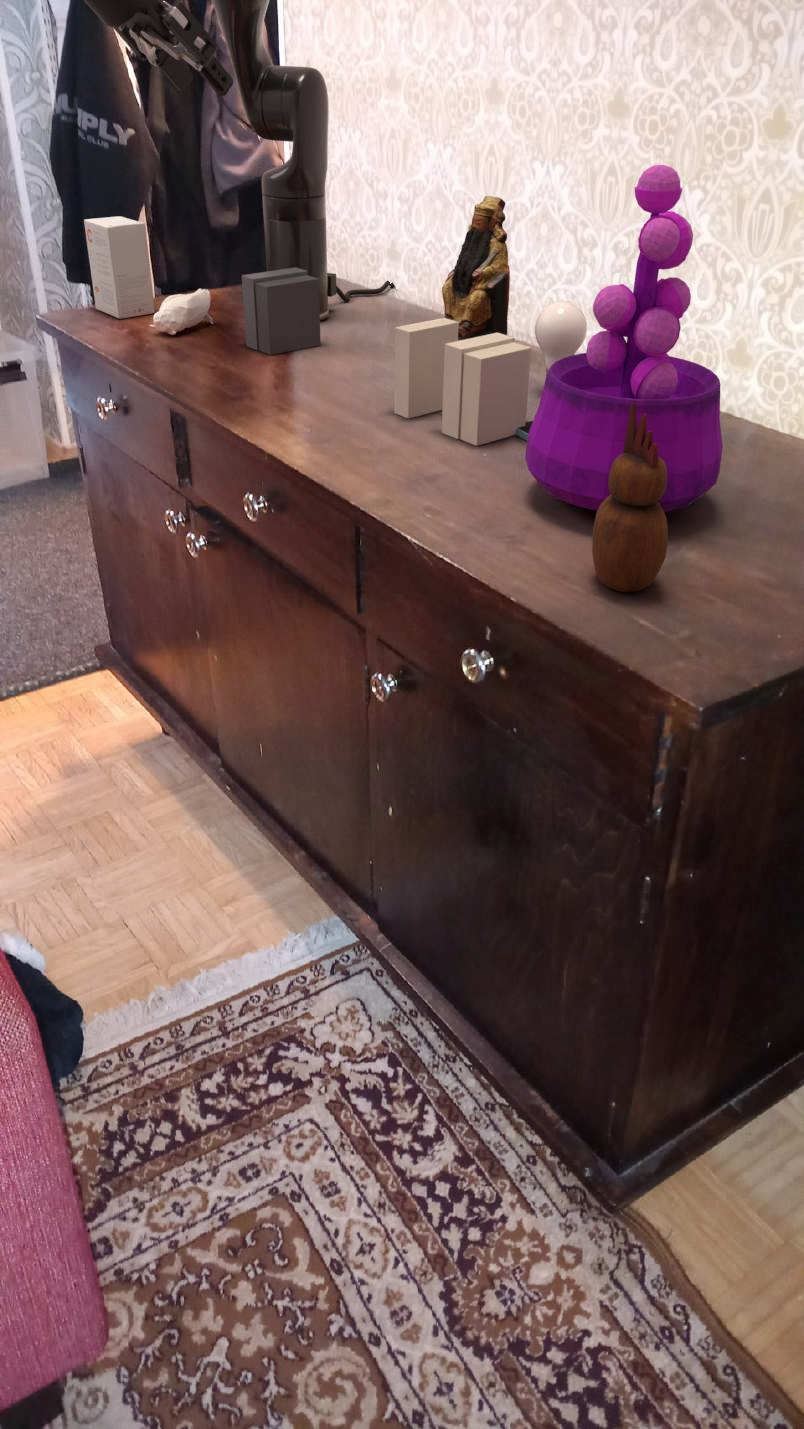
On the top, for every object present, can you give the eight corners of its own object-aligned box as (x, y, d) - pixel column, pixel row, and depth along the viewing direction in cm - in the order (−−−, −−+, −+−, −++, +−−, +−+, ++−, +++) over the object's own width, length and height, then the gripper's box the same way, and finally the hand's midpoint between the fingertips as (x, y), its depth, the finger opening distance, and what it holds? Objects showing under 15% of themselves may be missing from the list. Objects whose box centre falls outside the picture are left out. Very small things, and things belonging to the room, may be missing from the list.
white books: (441, 432, 122) (444, 343, 117) (492, 419, 127) (497, 332, 121) (475, 446, 119) (480, 355, 113) (526, 431, 123) (533, 343, 117)
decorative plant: (547, 456, 117) (576, 146, 100) (720, 479, 112) (781, 158, 95) (501, 521, 102) (527, 171, 85) (699, 552, 97) (767, 186, 80)
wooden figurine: (580, 565, 94) (600, 396, 86) (645, 564, 95) (671, 395, 86) (599, 602, 88) (622, 424, 80) (667, 600, 89) (697, 423, 81)
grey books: (245, 346, 151) (241, 275, 146) (298, 336, 156) (295, 267, 151) (269, 355, 148) (265, 282, 142) (321, 344, 152) (320, 274, 147)
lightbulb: (586, 388, 137) (596, 299, 131) (571, 402, 132) (580, 310, 126) (539, 382, 139) (546, 293, 133) (522, 395, 134) (529, 304, 128)
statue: (428, 350, 151) (432, 194, 140) (475, 343, 154) (483, 190, 143) (474, 372, 142) (482, 208, 131) (523, 365, 145) (535, 204, 134)
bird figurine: (184, 329, 163) (143, 326, 155) (193, 283, 161) (153, 278, 152) (210, 339, 162) (171, 338, 153) (220, 293, 159) (181, 289, 151)
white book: (394, 413, 128) (395, 327, 122) (441, 401, 132) (444, 317, 126) (408, 418, 126) (409, 331, 121) (455, 406, 130) (458, 321, 125)
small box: (156, 313, 166) (146, 222, 159) (118, 319, 163) (106, 226, 155) (131, 303, 171) (120, 214, 164) (94, 309, 168) (82, 218, 160)
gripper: (153, -75, 103) (260, 62, 115) (86, -71, 112) (192, 55, 124) (111, -9, 103) (222, 120, 115) (47, -10, 112) (157, 110, 124)
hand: (207, 86), depth 120 cm, fingers open, 8 cm apart
